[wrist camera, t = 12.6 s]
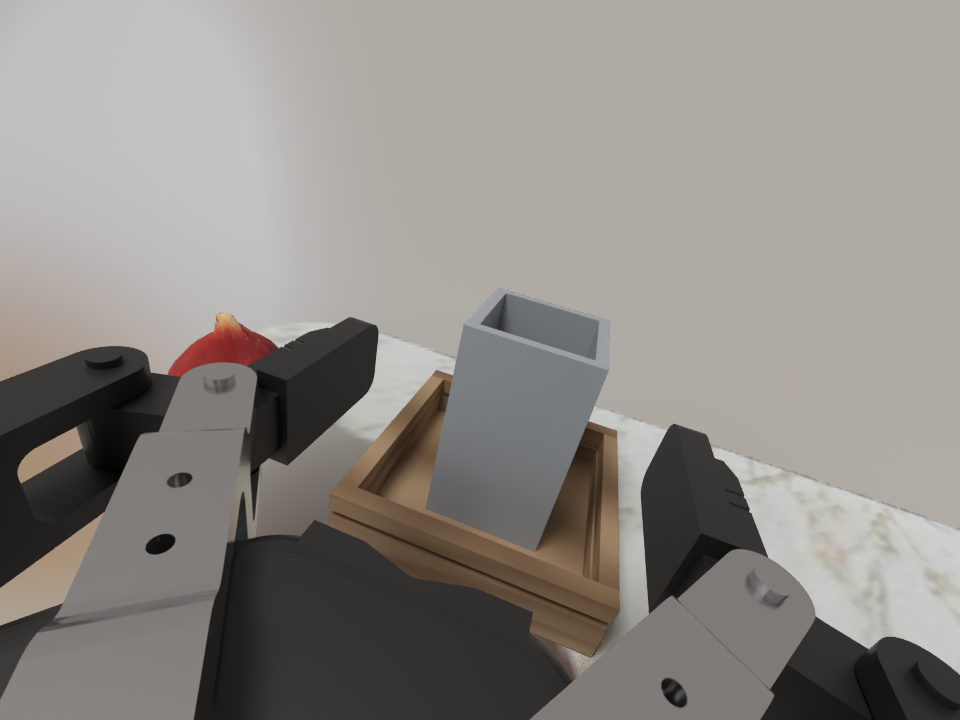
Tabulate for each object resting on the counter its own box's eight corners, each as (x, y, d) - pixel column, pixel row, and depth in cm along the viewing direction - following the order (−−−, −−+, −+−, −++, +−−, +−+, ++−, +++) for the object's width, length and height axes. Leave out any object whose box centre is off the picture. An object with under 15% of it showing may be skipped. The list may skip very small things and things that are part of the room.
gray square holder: (535, 551, 20) (608, 370, 15) (425, 508, 21) (463, 324, 16) (550, 475, 25) (610, 320, 20) (461, 443, 26) (498, 287, 21)
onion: (310, 423, 26) (313, 300, 22) (285, 497, 21) (284, 353, 17) (203, 415, 24) (187, 283, 21) (149, 491, 19) (116, 335, 16)
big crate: (590, 657, 17) (619, 610, 16) (326, 545, 19) (329, 493, 17) (599, 469, 28) (617, 430, 26) (429, 409, 29) (436, 370, 28)
